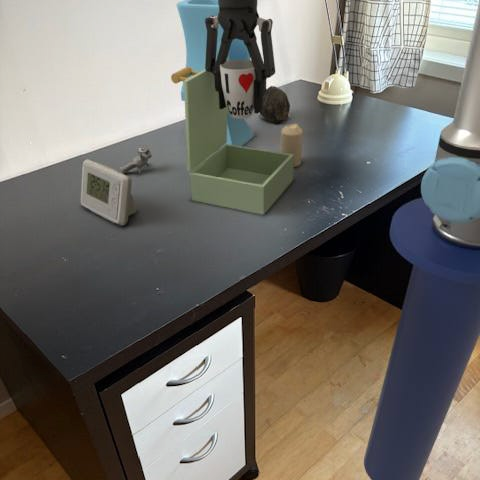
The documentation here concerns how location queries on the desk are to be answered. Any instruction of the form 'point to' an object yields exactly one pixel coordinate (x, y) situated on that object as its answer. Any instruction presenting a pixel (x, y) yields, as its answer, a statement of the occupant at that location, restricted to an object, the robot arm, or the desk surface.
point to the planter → (193, 21)
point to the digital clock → (106, 192)
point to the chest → (242, 178)
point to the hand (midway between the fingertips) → (240, 109)
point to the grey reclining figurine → (138, 161)
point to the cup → (238, 87)
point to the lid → (201, 115)
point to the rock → (275, 105)
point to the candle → (292, 142)
